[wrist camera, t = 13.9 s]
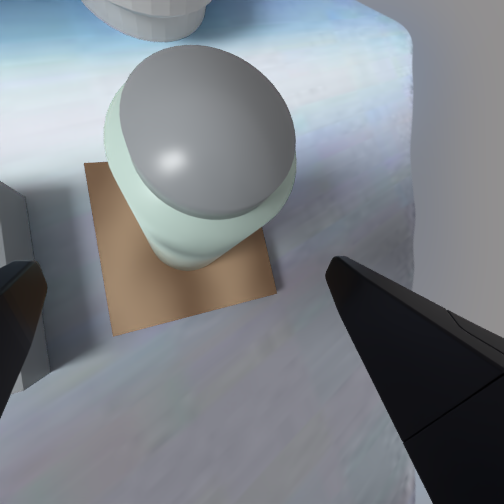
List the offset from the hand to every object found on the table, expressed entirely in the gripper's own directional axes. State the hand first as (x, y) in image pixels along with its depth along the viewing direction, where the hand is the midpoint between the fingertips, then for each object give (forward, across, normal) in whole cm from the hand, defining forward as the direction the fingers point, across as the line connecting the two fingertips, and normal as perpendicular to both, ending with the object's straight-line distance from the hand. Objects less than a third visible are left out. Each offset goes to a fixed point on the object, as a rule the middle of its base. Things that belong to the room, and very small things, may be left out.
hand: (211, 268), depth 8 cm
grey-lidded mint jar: (+10, 0, +5) cm, 11 cm away
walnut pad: (+11, 0, +6) cm, 12 cm away
